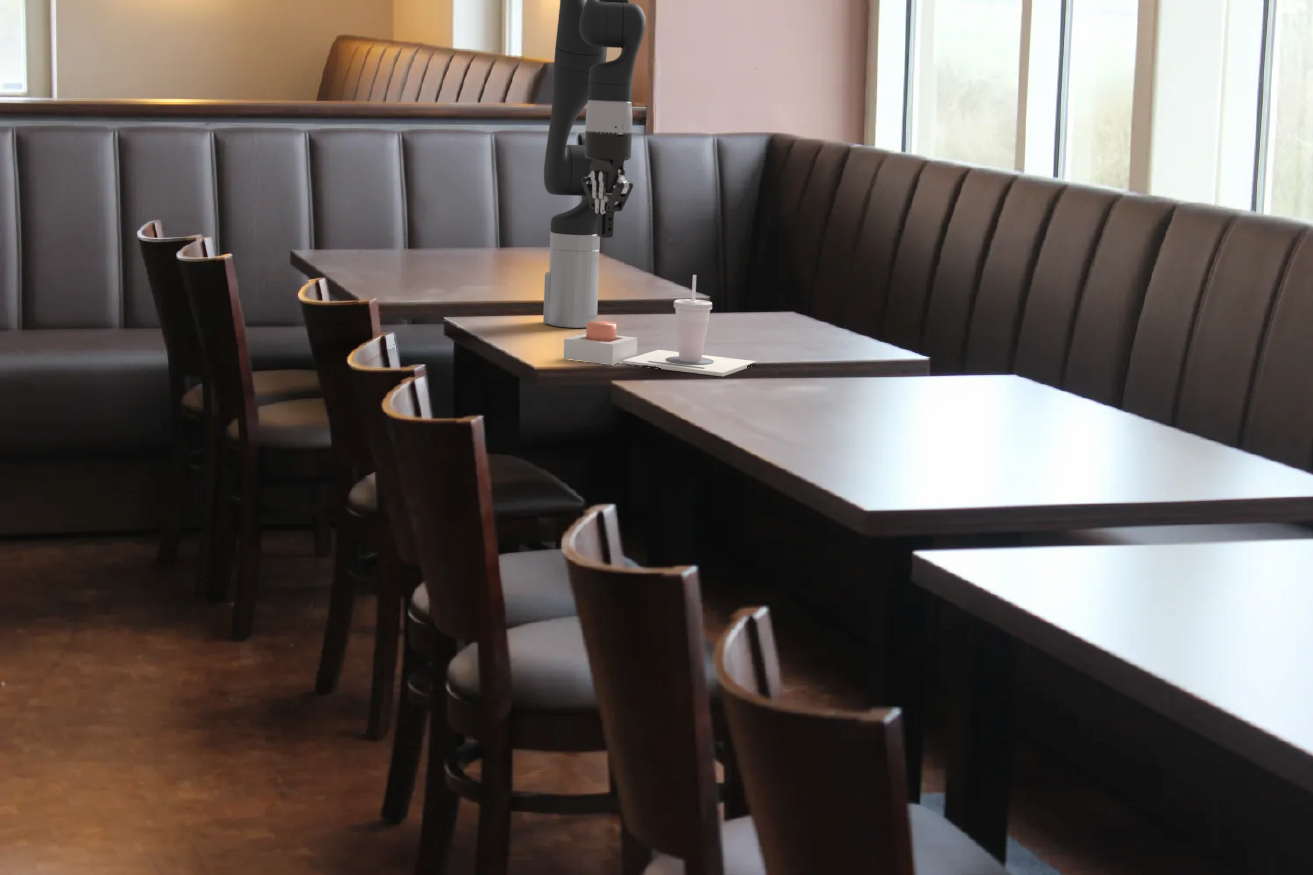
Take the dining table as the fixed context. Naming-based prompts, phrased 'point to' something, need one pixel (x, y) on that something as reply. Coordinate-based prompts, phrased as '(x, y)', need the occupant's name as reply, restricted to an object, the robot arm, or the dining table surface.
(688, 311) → the smoothie
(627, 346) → the button housing
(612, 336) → the button
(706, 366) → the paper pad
